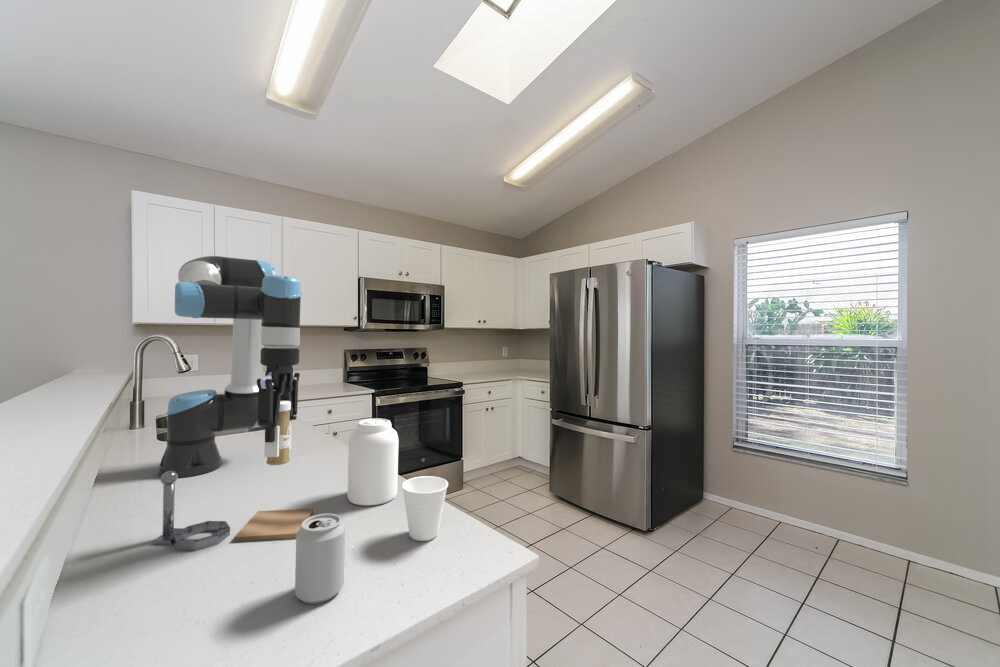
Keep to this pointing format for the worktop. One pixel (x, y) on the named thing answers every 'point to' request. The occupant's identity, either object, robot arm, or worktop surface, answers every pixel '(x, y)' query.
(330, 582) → the can
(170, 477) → the ring stand
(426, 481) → the cup
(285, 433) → the sprinkles bottle
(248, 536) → the coaster
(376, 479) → the white jar
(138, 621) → the worktop surface
